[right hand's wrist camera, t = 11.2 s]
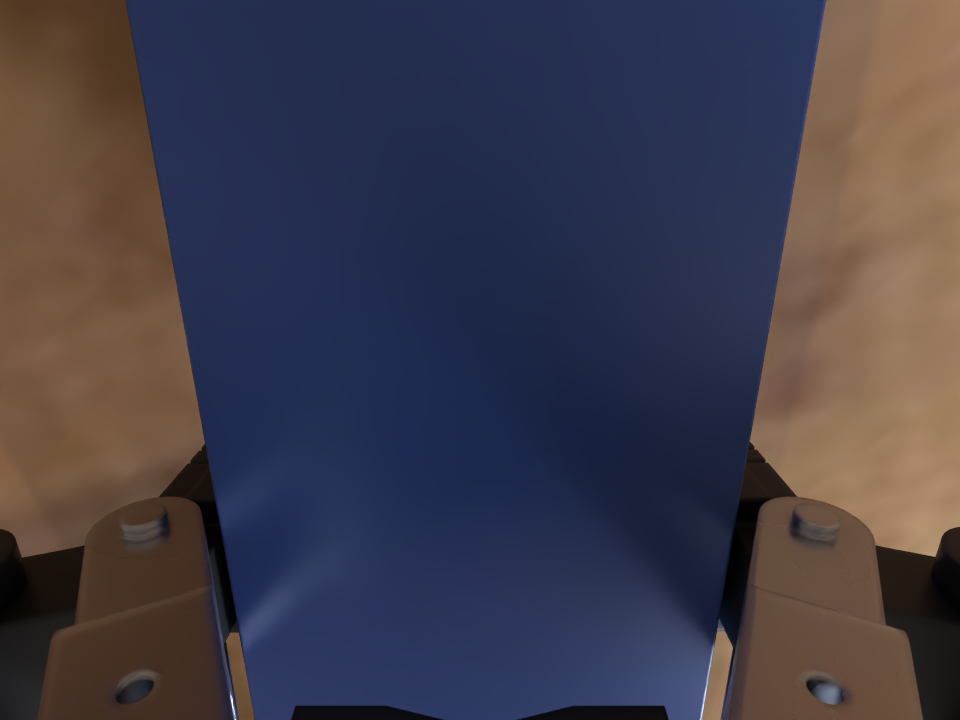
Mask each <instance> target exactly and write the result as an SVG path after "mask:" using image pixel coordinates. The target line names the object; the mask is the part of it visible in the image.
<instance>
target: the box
mask: <svg viewBox="0 0 960 720" xmlns="http://www.w3.org/2000/svg"><path fill="white" fill-rule="evenodd" d="M825 2H826V0H126V5H127V10H128V16H129V22H130V27H131V33H132V38H133V44H134V49H135V55H136V61H137V66H138V72H139V77H140V83H141V88H142V94H143V100H144V105H145V111H146V116H147V122H148V127H149V133H150V139H151V144H152V150H153V155H154V161H155V166H156V172H157V178H158V183H159V189H160V194H161V200H162V205H163V211H164V217H165V222H166V228H167V233H168V239H169V244H170V250H171V256H172V261H173V267H174V272H175V278H176V283H177V289H178V295H179V300H180V306H181V311H182V317H183V322H184V328H185V334H186V339H187V345H188V350H189V356H190V361H191V367H192V373H193V378H194V384H195V389H196V395H197V400H198V406H199V412H200V417H201V423H202V428H203V434H204V440H205V445H206V451H207V456H208V462H209V467H210V473H211V479H212V484H213V490H214V495H215V501H216V506H217V512H218V518H219V523H220V529H221V534H222V540H223V545H224V551H225V557H226V562H227V568H228V573H229V579H230V584H231V590H232V596H233V601H234V607H235V612H236V618H237V623H238V629H239V635H240V640H241V646H242V651H243V657H244V662H245V668H246V674H247V679H248V685H249V690H250V696H251V701H252V707H253V713H254V718H255V720H291V718H292V715H293V712H294V709H295V706H390V707H394V708H398V709H402V710H406V711H410V712H414V713H418V714H423V715H427V716H431V717H435V718H439V719H443V720H517V719H521V718H525V717H529V716H533V715H537V714H542V713H546V712H550V711H554V710H558V709H562V708H566V707H570V706H665V709H666V712H667V715H668V718H669V720H702V714H703V709H704V703H705V697H706V691H707V685H708V680H709V674H710V668H711V662H712V656H713V651H714V645H715V639H716V633H717V628H718V622H719V616H720V610H721V604H722V599H723V593H724V587H725V581H726V575H727V570H728V564H729V558H730V552H731V546H732V541H733V535H734V529H735V523H736V518H737V512H738V506H739V500H740V494H741V489H742V483H743V477H744V471H745V465H746V460H747V454H748V448H749V442H750V437H751V431H752V425H753V419H754V413H755V408H756V402H757V396H758V390H759V384H760V379H761V373H762V367H763V361H764V355H765V350H766V344H767V338H768V332H769V327H770V321H771V315H772V309H773V303H774V298H775V292H776V286H777V280H778V274H779V269H780V263H781V257H782V251H783V245H784V240H785V234H786V228H787V222H788V217H789V211H790V205H791V199H792V193H793V188H794V182H795V176H796V170H797V164H798V159H799V153H800V147H801V141H802V135H803V130H804V124H805V118H806V112H807V107H808V101H809V95H810V89H811V83H812V78H813V72H814V66H815V60H816V54H817V49H818V43H819V37H820V31H821V25H822V20H823V14H824V8H825Z"/></svg>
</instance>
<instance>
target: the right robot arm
mask: <svg viewBox="0 0 960 720" xmlns="http://www.w3.org/2000/svg"><path fill="white" fill-rule="evenodd" d="M717 631H725V632H726V634H727V636H728V638H729V640H730V642H731V644H732V646H733V650H732V655H731V661H730V666H729V672H728V678H727V684H726V690H725V696H724V702H723V708H722V714H721V720H960V527H957V528H953V529H950V530H948V531H947V532H945V533H944V535H943V536H942V539H941V542H940V545H939V548H938V551H937V554H936V557H932V556H927V555H922V554H917V553H911V552H906V551H901V550H896V549H891V548H885V547H881V546H876V545H875V540H874V537H873V535H872V533H871V531H870V530H869V529H868V527H867V526H866V525H865V524H864V523H863V522H861V521H860V520H859V519H858V518H856V517H855V516H853V515H852V514H850V513H848V512H846V511H844V510H843V509H840V508H838V507H836V506H833V505H831V504H828V503H825V502H821V501H818V500H814V499H809V498H802V497H797V496H796V495H795V494H794V492H793V491H792V490H791V489H790V488H789V487H788V485H787V484H786V483H785V482H784V481H783V480H782V478H781V477H780V476H779V475H778V474H777V473H776V472H775V470H774V469H773V468H772V467H771V466H770V465H769V463H765V459H764V458H763V456H762V455H761V454H760V453H759V452H758V451H757V450H754V446H753V445H752V444H751V442H749V448H748V454H747V460H746V465H745V471H744V477H743V483H742V489H741V494H740V500H739V506H738V512H737V518H736V523H735V529H734V535H733V541H732V546H731V552H730V558H729V564H728V570H727V575H726V581H725V587H724V593H723V599H722V604H721V610H720V616H719V622H718V628H717ZM230 632H239V629H238V623H237V618H236V612H235V607H234V601H233V596H232V590H231V584H230V579H229V573H228V568H227V562H226V557H225V551H224V545H223V540H222V534H221V529H220V523H219V518H218V512H217V506H216V501H215V495H214V490H213V484H212V479H211V473H210V467H209V462H208V456H207V451H206V445H204V446H203V447H202V451H199V452H198V453H197V454H196V455H195V456H194V457H193V458H192V460H191V464H187V465H186V466H185V468H184V469H183V470H182V471H181V472H180V473H179V474H178V476H177V477H176V478H175V479H174V480H173V481H172V483H171V484H170V485H169V486H168V487H167V488H166V489H165V491H164V492H163V493H162V494H161V495H160V496H159V497H158V498H151V499H146V500H142V501H139V502H135V503H132V504H129V505H127V506H124V507H122V508H120V509H117V510H116V511H114V512H112V513H110V514H108V515H107V516H105V517H104V518H102V519H101V520H100V521H99V522H98V523H96V524H95V525H94V526H93V527H92V529H91V530H90V531H89V533H88V535H87V537H86V541H85V545H84V546H80V547H76V548H71V549H66V550H61V551H55V552H50V553H45V554H40V555H34V556H29V557H24V558H22V557H21V554H20V551H19V548H18V545H17V542H16V539H15V537H14V535H13V534H11V533H10V532H8V531H5V530H2V529H0V720H239V714H238V708H237V702H236V696H235V690H234V684H233V678H232V672H231V666H230V660H229V655H228V650H227V645H226V640H227V638H228V636H229V634H230ZM291 720H443V719H439V718H435V717H431V716H427V715H423V714H418V713H414V712H410V711H406V710H402V709H398V708H394V707H390V706H295V709H294V712H293V715H292V718H291ZM517 720H669V718H668V715H667V712H666V709H665V706H570V707H566V708H562V709H558V710H554V711H550V712H546V713H542V714H537V715H533V716H529V717H525V718H521V719H517Z"/></svg>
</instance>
